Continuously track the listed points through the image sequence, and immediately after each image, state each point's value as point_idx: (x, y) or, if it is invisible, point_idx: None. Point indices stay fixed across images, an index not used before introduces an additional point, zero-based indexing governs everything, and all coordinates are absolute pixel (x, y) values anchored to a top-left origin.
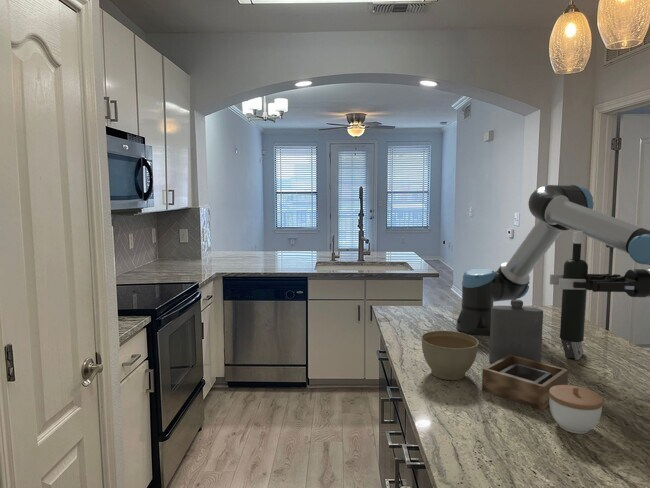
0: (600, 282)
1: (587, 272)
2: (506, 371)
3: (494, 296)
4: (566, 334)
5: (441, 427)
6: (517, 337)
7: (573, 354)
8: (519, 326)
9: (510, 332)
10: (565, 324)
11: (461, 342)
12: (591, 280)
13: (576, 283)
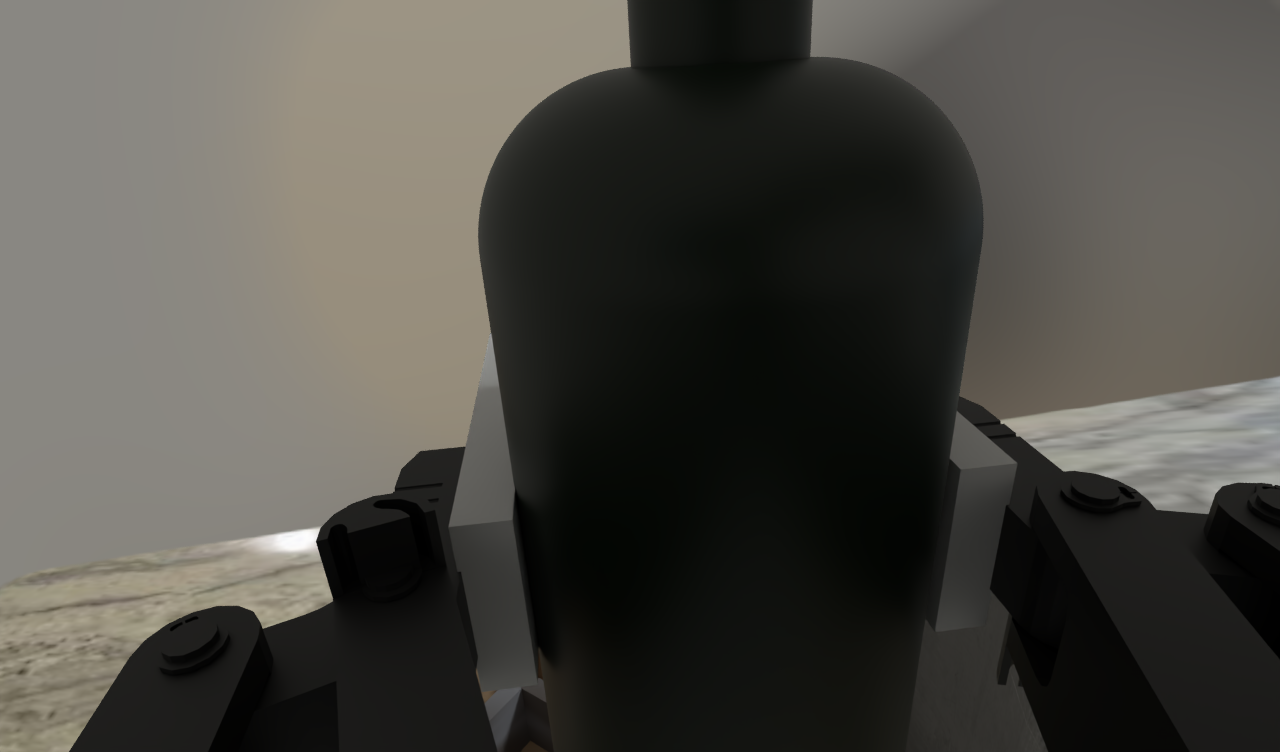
0: (90, 742)
1: (599, 434)
2: (543, 702)
3: None
4: None
5: (257, 572)
6: (964, 733)
7: None
8: (980, 680)
9: (948, 668)
10: None
11: None
12: (333, 587)
13: (410, 473)
